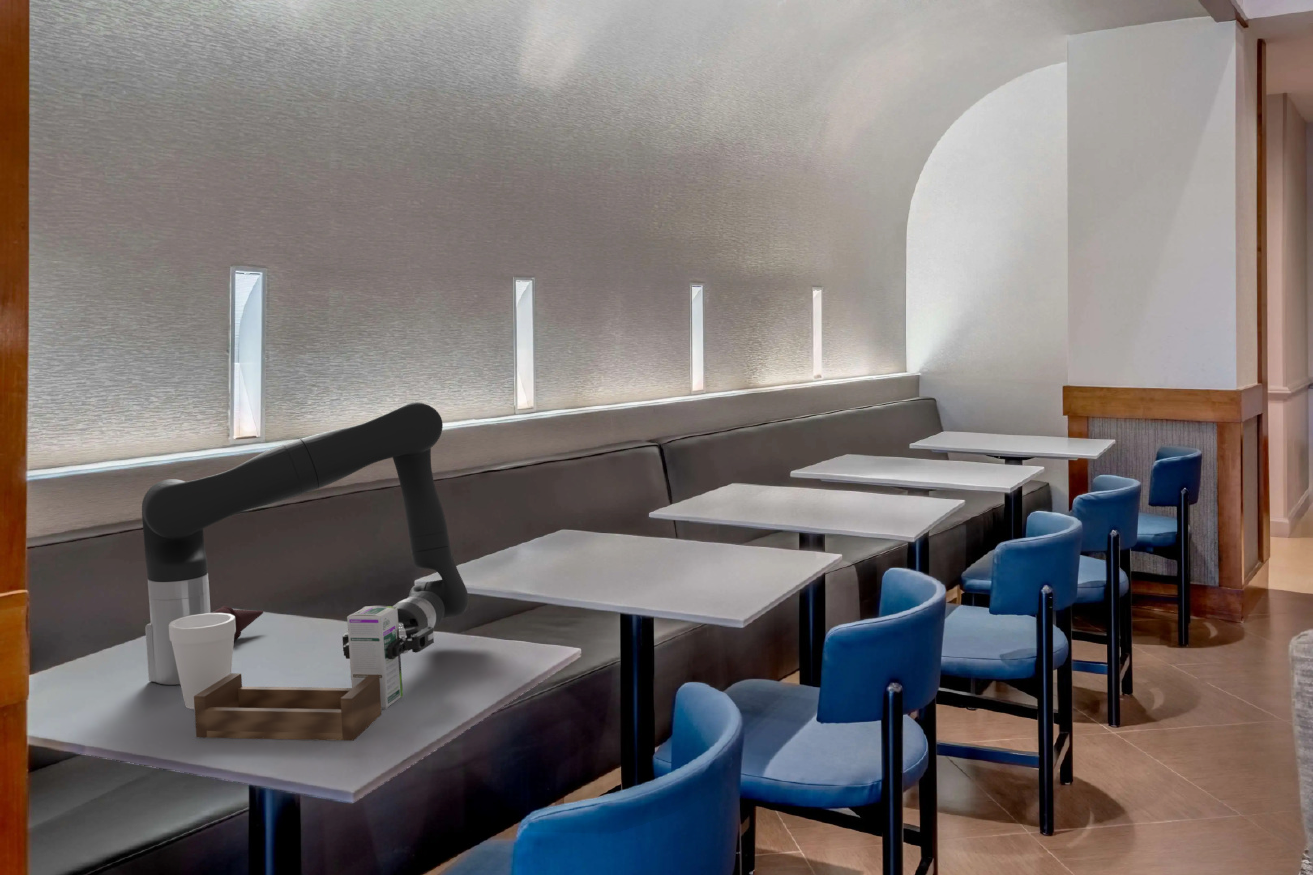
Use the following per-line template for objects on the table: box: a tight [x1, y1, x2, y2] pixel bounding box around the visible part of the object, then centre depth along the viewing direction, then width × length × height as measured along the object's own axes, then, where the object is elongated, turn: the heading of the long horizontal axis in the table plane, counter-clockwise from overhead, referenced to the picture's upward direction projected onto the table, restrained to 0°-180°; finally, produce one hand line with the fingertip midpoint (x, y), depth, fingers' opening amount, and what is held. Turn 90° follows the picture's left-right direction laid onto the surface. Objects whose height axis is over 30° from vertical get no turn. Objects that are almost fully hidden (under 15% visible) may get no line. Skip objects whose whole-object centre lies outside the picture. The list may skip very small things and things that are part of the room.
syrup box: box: [346, 605, 404, 710], centre depth 163 cm, size 6×6×14 cm
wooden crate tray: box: [194, 672, 382, 742], centre depth 154 cm, size 23×10×6 cm, turn 83°
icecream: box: [211, 605, 264, 641], centre depth 201 cm, size 7×7×15 cm
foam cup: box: [169, 612, 236, 710], centre depth 165 cm, size 10×9×13 cm
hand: (368, 652), depth 161 cm, fingers closed on syrup box, 6 cm apart
